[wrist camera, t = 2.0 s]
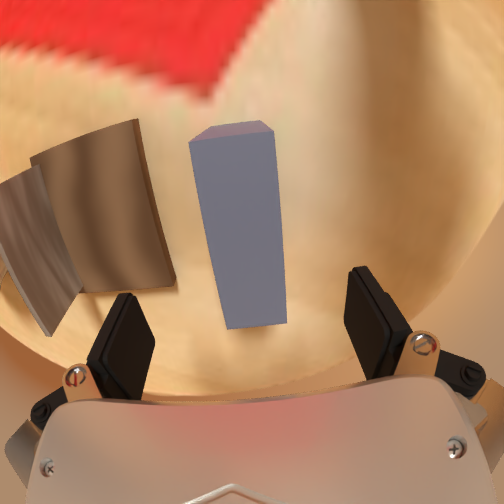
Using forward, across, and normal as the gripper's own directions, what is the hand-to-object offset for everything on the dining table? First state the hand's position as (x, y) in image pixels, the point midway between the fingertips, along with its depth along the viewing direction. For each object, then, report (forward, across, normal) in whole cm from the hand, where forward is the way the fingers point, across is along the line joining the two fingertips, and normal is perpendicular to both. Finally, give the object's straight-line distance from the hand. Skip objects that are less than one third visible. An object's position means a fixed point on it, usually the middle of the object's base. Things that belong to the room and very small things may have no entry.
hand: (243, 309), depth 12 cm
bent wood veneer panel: (+14, +14, -1) cm, 20 cm away
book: (+14, 0, -1) cm, 14 cm away
